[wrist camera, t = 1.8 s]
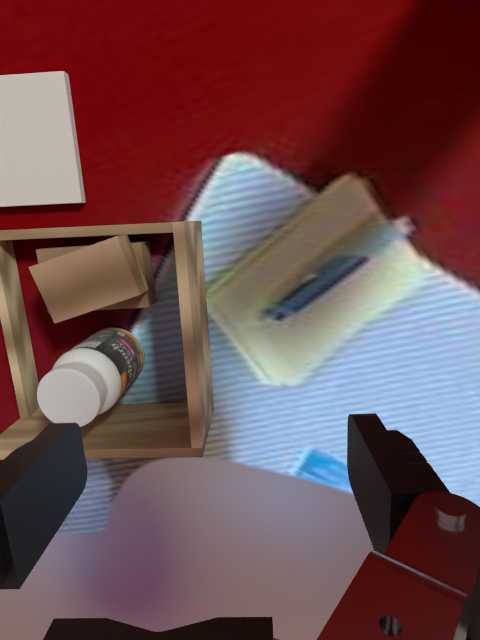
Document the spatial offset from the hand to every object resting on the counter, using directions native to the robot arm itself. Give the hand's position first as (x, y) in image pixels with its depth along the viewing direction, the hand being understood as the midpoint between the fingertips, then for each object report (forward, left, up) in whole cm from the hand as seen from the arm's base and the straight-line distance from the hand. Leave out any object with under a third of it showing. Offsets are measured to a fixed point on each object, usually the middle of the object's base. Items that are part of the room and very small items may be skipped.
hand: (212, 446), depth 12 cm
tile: (-14, -18, -25) cm, 34 cm away
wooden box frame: (+2, -12, -25) cm, 28 cm away
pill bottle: (+5, -12, -25) cm, 29 cm away
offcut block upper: (-2, -12, -22) cm, 26 cm away
